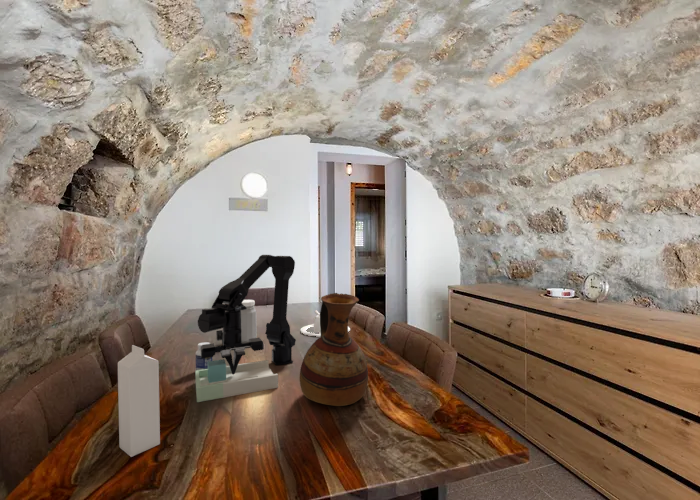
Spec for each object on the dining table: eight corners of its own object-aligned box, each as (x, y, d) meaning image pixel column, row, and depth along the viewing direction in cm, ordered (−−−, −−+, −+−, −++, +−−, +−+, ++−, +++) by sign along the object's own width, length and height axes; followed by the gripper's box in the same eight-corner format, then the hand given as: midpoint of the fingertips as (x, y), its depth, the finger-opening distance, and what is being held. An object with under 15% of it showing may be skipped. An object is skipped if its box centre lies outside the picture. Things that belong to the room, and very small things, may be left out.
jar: (247, 336, 168) (247, 298, 167) (261, 339, 162) (260, 300, 162) (229, 340, 160) (229, 301, 159) (243, 344, 154) (243, 303, 154)
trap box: (267, 371, 122) (267, 359, 122) (278, 387, 108) (278, 374, 108) (195, 382, 112) (195, 370, 112) (196, 402, 99) (196, 388, 98)
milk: (148, 435, 82) (146, 341, 81) (160, 444, 78) (159, 345, 78) (118, 448, 77) (117, 347, 77) (130, 458, 73) (128, 352, 73)
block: (224, 374, 114) (224, 359, 114) (226, 380, 109) (225, 364, 109) (207, 377, 112) (207, 361, 112) (208, 382, 107) (208, 366, 107)
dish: (294, 337, 167) (293, 313, 167) (308, 324, 191) (308, 304, 191) (345, 339, 163) (344, 314, 162) (353, 326, 187) (353, 305, 187)
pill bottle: (206, 375, 119) (206, 346, 119) (192, 373, 120) (191, 345, 120) (215, 369, 124) (215, 341, 124) (202, 368, 125) (201, 341, 125)
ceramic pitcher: (315, 420, 88) (314, 301, 87) (290, 390, 106) (289, 291, 105) (381, 403, 97) (381, 295, 96) (348, 378, 115) (347, 287, 114)
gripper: (257, 317, 123) (258, 361, 124) (199, 323, 115) (200, 370, 116) (263, 324, 113) (264, 372, 114) (200, 331, 105) (202, 382, 106)
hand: (233, 373), depth 113 cm, fingers closed
